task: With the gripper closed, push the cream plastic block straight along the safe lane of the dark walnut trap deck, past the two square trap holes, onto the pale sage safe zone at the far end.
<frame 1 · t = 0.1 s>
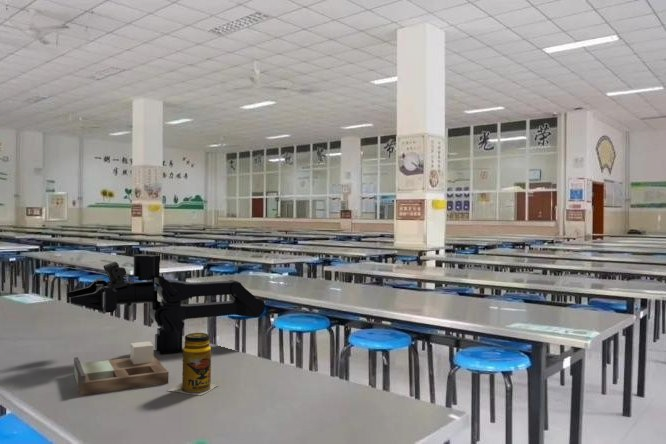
hand: (68, 297, 137), 17 cm above the table, tool horizontal, fingers open, 9 cm apart
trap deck: (120, 378, 125), on the table
block: (141, 360, 131), point 2 cm above the table, touching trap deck
condiment: (193, 389, 120), on the table
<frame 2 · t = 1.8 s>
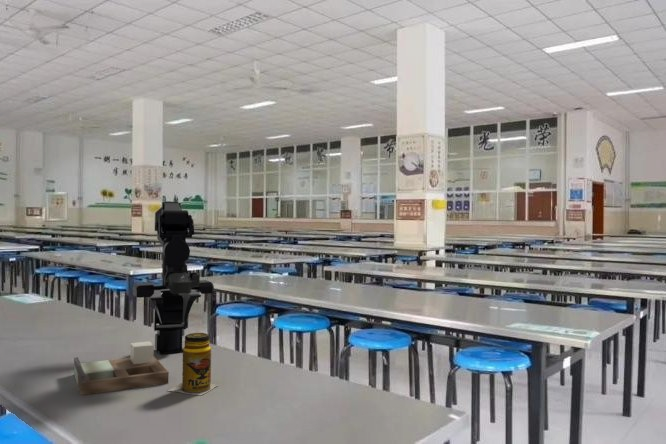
hand: (173, 323, 135), 11 cm above the table, tool pointing down, fingers open, 5 cm apart
nothing on the table moved.
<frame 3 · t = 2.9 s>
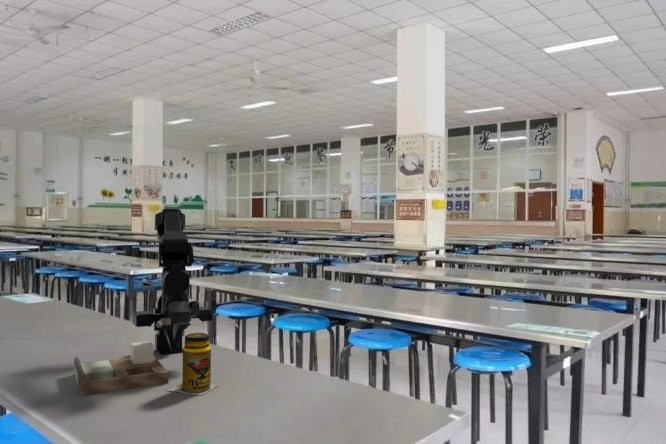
hand: (173, 350, 135), 4 cm above the table, tool pointing down, fingers closed
nothing on the table moved.
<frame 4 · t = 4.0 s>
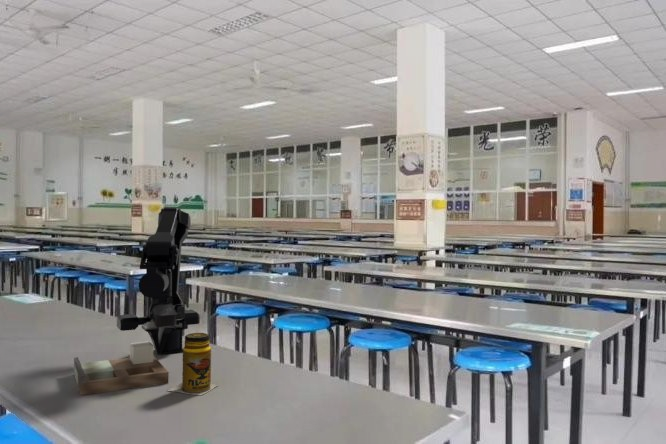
hand: (158, 354, 133), 4 cm above the table, tool pointing down, fingers closed
block: (141, 360, 131), point 2 cm above the table, touching gripper, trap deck
everything else where it was.
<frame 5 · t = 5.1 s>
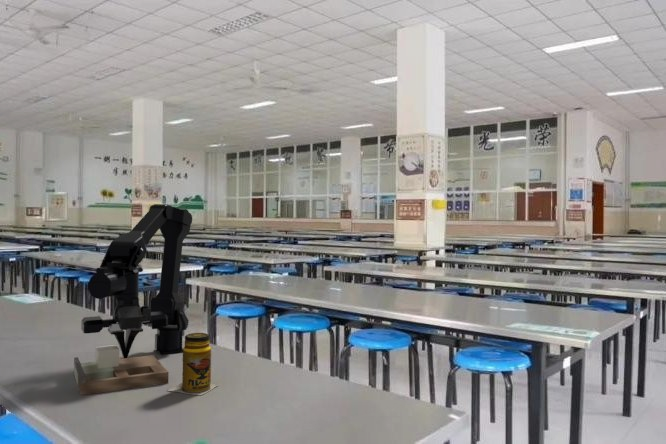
hand: (125, 357, 129), 4 cm above the table, tool pointing down, fingers closed
block: (107, 364, 127), point 3 cm above the table, touching gripper
everything else where it was.
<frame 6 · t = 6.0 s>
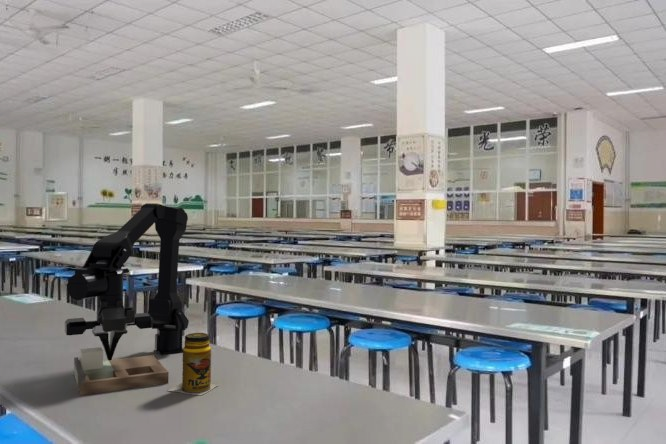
hand: (109, 360, 128), 4 cm above the table, tool pointing down, fingers closed
block: (91, 366, 126), point 2 cm above the table, touching gripper, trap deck
everything else where it was.
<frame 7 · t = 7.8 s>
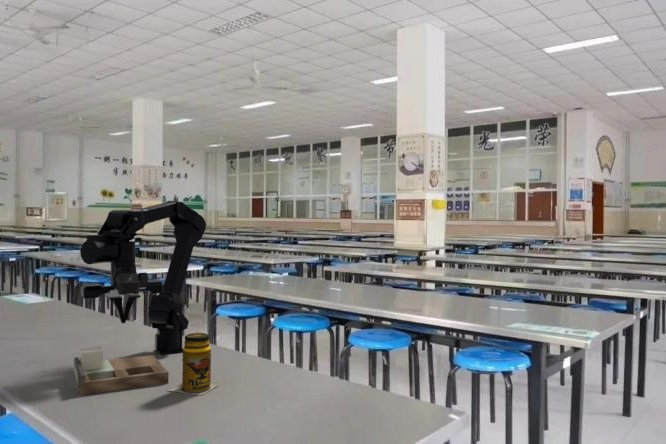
hand: (123, 323, 135), 11 cm above the table, tool pointing down, fingers closed
block: (91, 366, 126), point 2 cm above the table, touching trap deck
everything else where it was.
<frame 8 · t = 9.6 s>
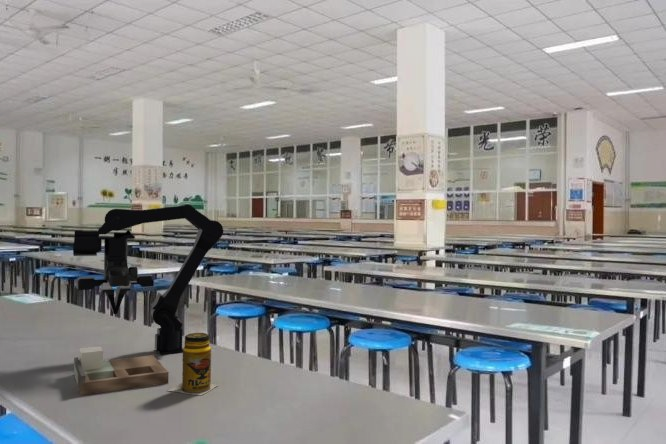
hand: (115, 314, 145), 11 cm above the table, tool pointing down, fingers closed
nothing on the table moved.
at the end: block 0.6 cm from the target spot on the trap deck, point 2.5 cm above the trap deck's base; block tilted 0°; block moved 11.3 cm from its start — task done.
